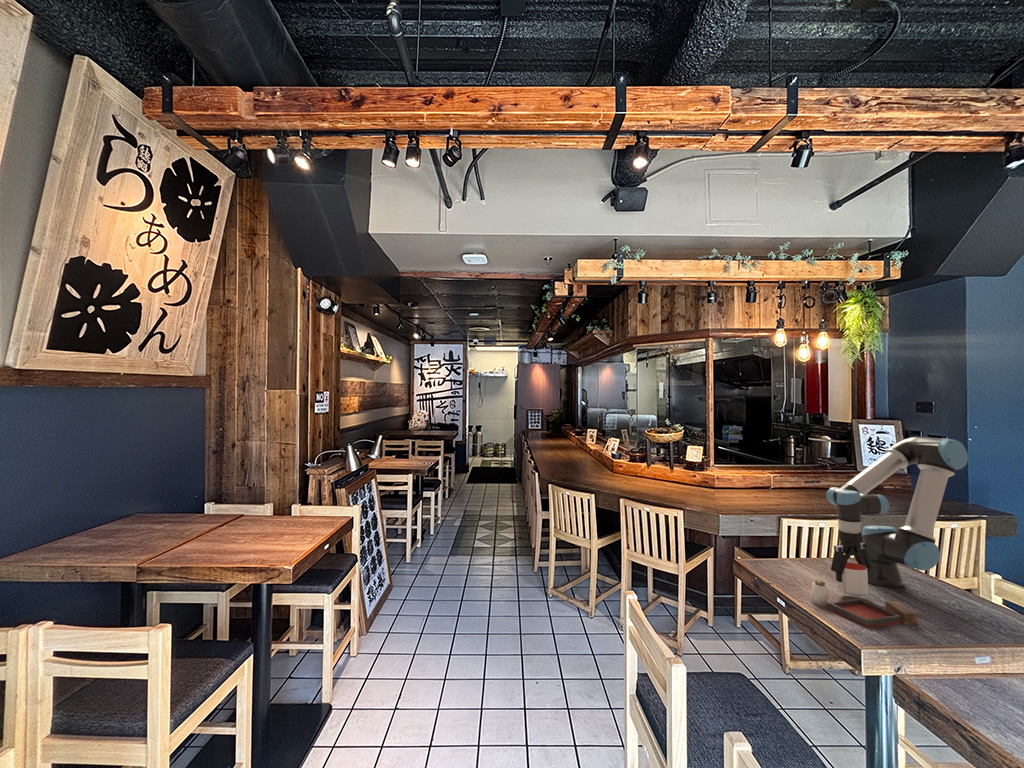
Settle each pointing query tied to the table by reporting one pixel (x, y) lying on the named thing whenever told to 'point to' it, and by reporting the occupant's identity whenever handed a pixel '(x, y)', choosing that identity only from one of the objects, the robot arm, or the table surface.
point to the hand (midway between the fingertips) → (852, 588)
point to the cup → (855, 579)
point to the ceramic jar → (820, 593)
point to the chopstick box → (902, 612)
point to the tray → (864, 613)
